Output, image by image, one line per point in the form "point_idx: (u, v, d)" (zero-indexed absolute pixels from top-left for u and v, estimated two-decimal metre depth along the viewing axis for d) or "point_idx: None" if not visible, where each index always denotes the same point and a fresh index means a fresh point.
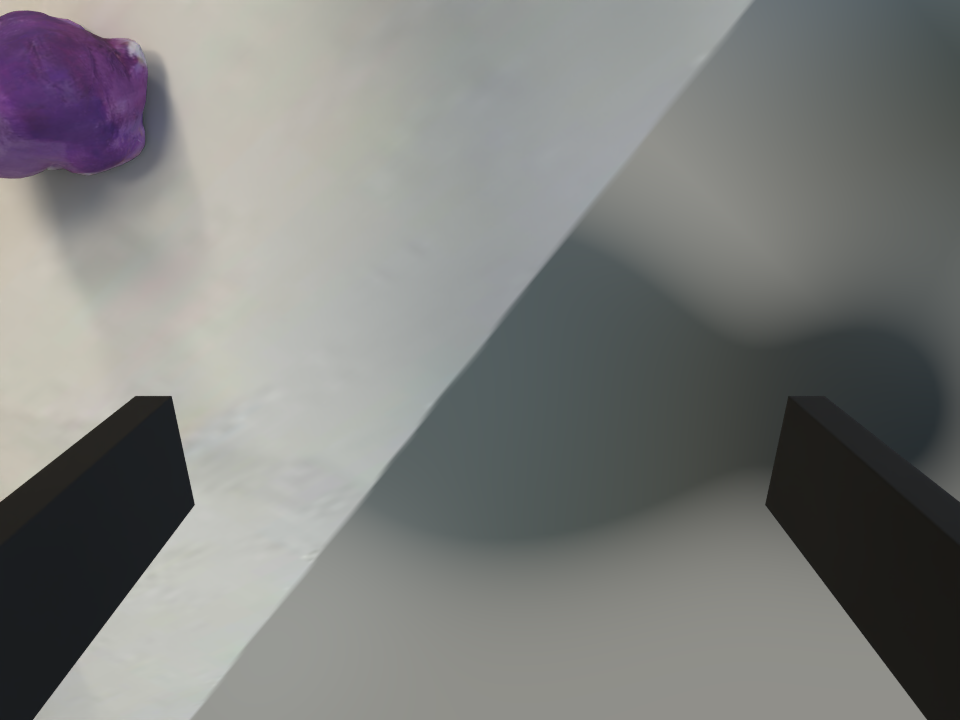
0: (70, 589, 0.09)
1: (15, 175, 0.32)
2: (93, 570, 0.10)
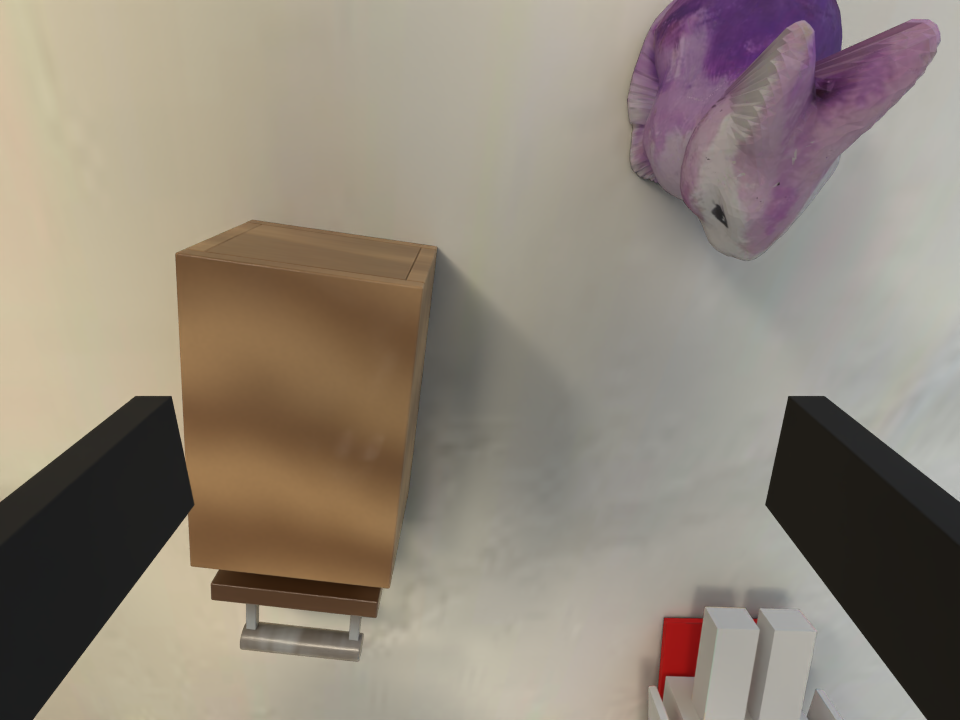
0: (71, 589, 0.09)
1: None
2: (93, 570, 0.10)
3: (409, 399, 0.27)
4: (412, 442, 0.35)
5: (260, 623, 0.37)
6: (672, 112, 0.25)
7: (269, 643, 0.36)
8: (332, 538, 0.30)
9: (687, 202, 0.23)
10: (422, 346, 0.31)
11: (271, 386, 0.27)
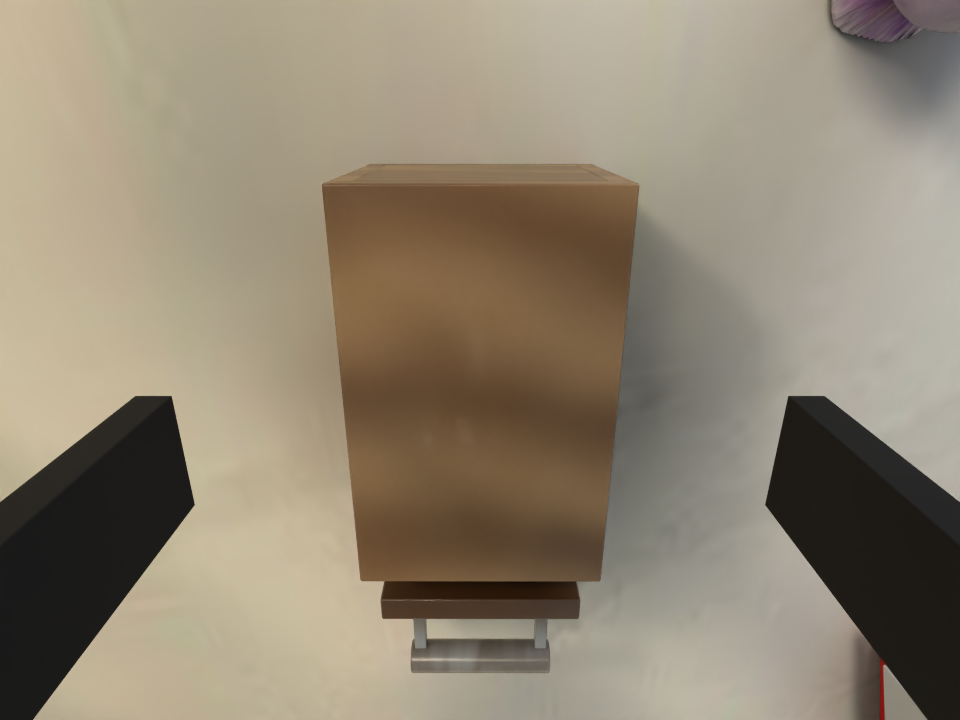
0: (70, 589, 0.09)
1: None
2: (93, 570, 0.10)
3: (623, 337, 0.21)
4: None
5: (428, 640, 0.32)
6: None
7: (444, 662, 0.31)
8: (529, 527, 0.24)
9: None
10: None
11: (449, 343, 0.21)
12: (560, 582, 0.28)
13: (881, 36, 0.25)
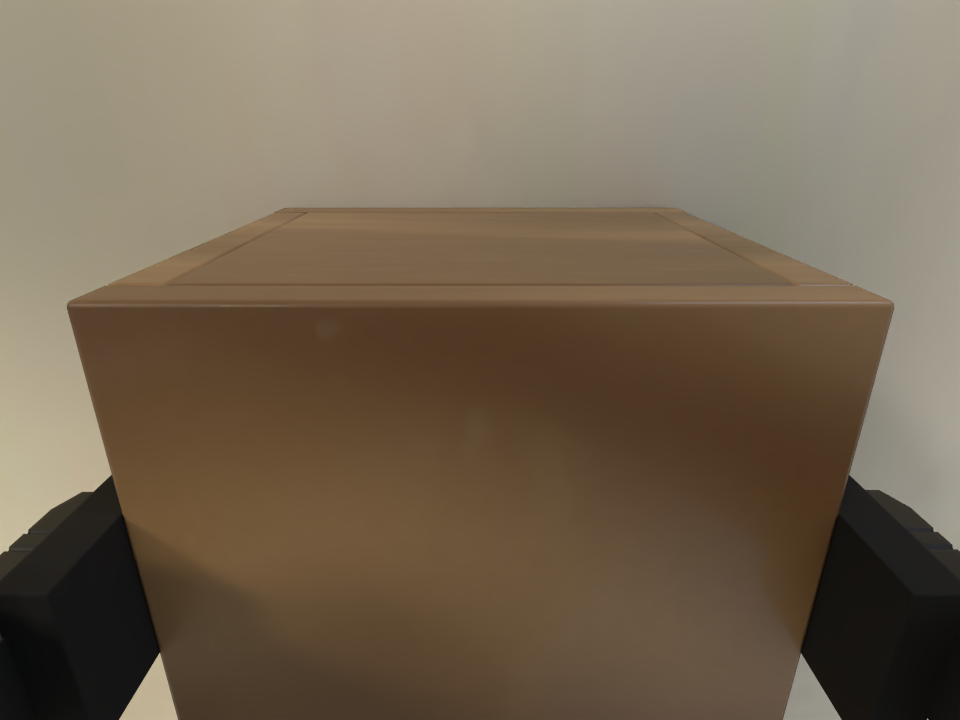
0: None
1: None
2: None
3: (805, 627, 0.09)
4: None
5: None
6: None
7: None
8: None
9: None
10: None
11: (409, 640, 0.09)
12: None
13: None
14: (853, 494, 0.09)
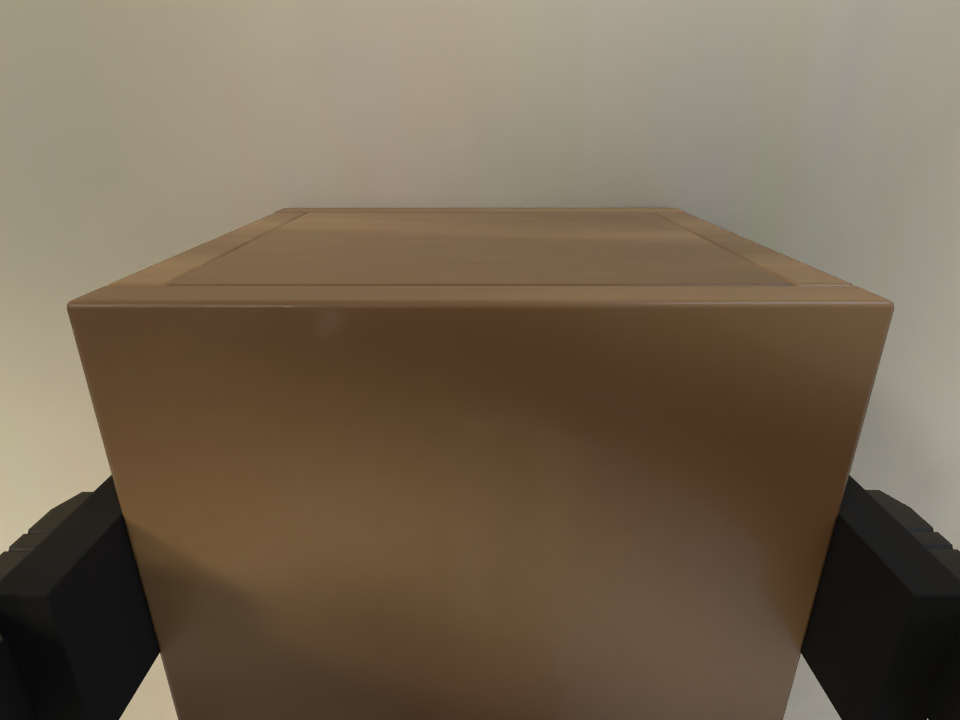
0: None
1: None
2: None
3: (805, 627, 0.09)
4: None
5: None
6: None
7: None
8: None
9: None
10: None
11: (409, 640, 0.09)
12: None
13: None
14: (853, 494, 0.09)
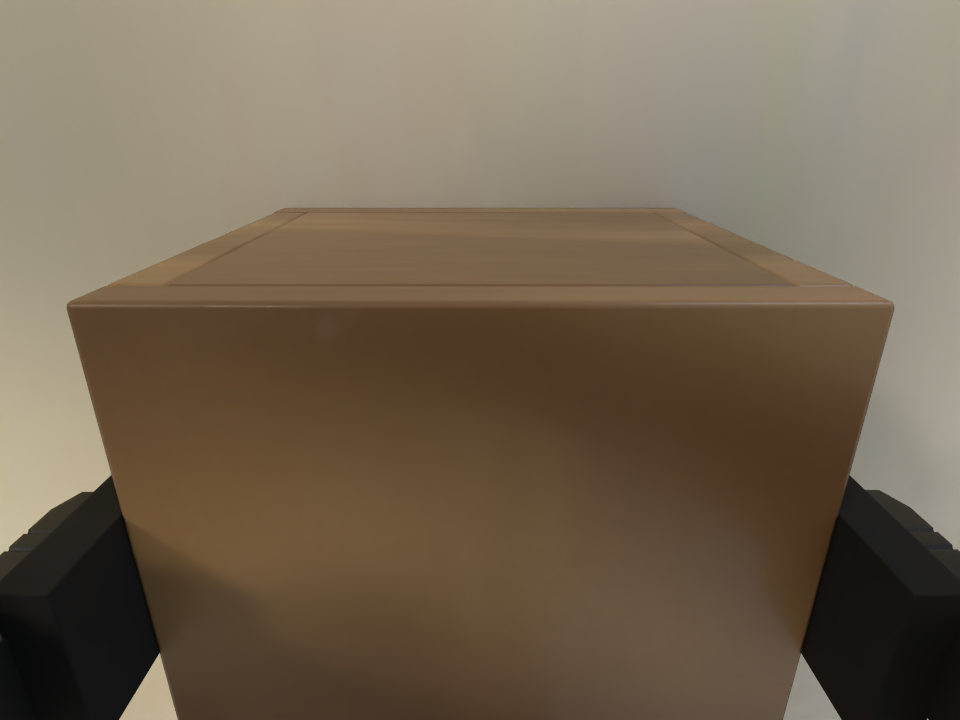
0: None
1: None
2: None
3: (805, 628, 0.09)
4: None
5: None
6: None
7: None
8: None
9: None
10: None
11: (409, 640, 0.09)
12: None
13: None
14: (853, 494, 0.09)
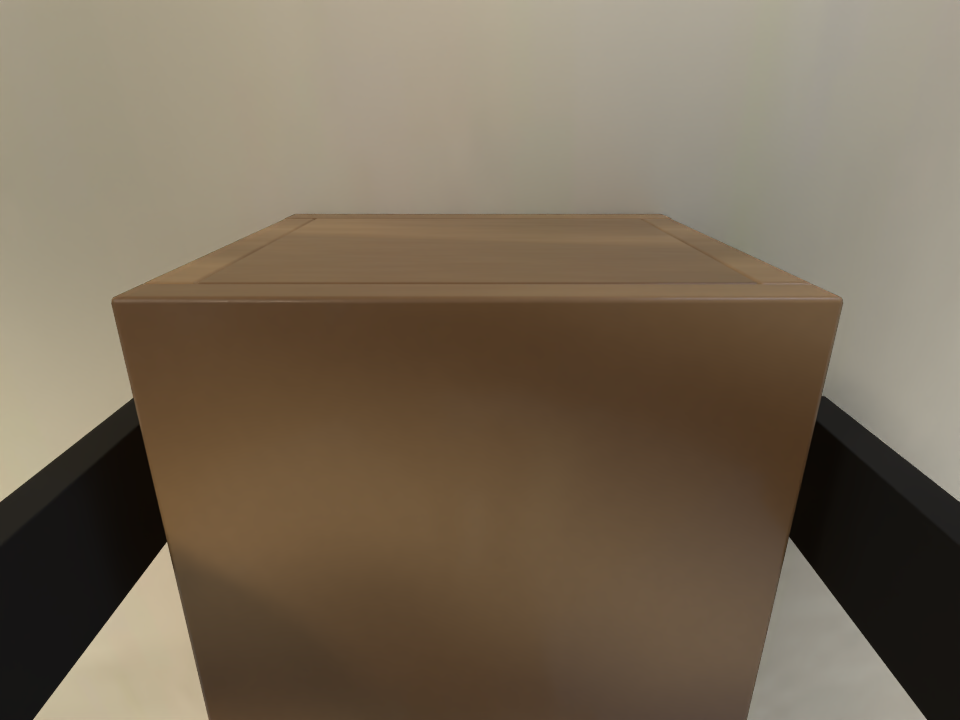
0: (70, 589, 0.09)
1: None
2: (93, 570, 0.10)
3: (773, 595, 0.10)
4: None
5: None
6: None
7: None
8: None
9: None
10: None
11: (413, 607, 0.10)
12: None
13: None
14: None
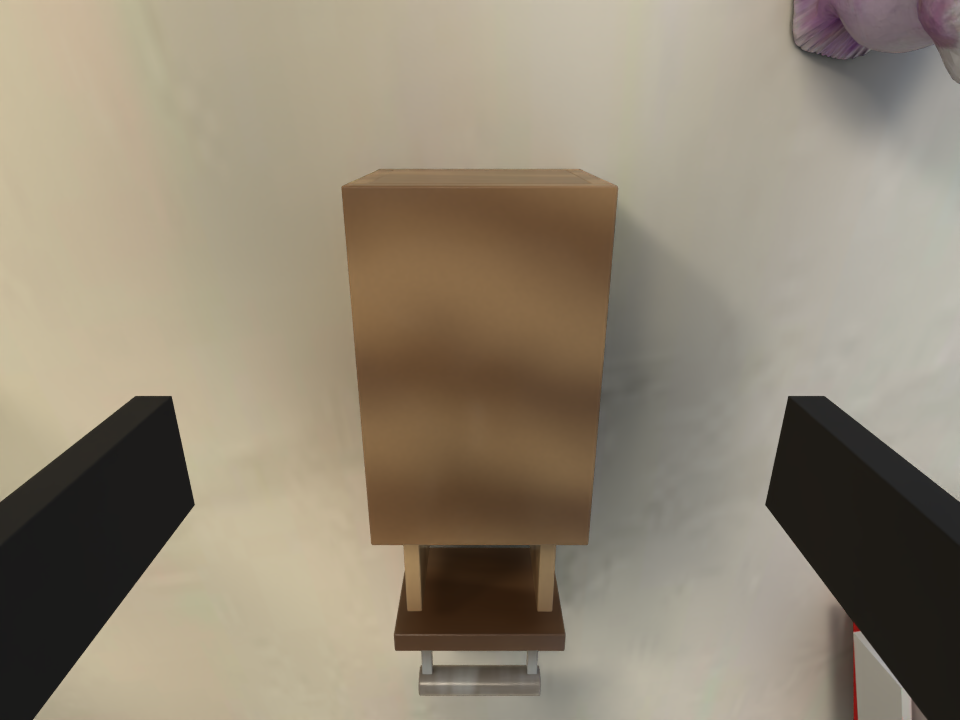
0: (71, 588, 0.09)
1: None
2: (93, 570, 0.10)
3: (605, 321, 0.24)
4: None
5: (434, 666, 0.36)
6: None
7: (448, 686, 0.35)
8: (524, 494, 0.27)
9: (937, 25, 0.19)
10: None
11: (452, 327, 0.24)
12: (548, 618, 0.33)
13: (838, 54, 0.28)
14: None
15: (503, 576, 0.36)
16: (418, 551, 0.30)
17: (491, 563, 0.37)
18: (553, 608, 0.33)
